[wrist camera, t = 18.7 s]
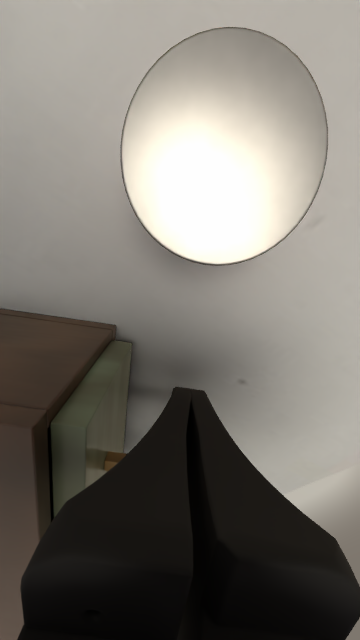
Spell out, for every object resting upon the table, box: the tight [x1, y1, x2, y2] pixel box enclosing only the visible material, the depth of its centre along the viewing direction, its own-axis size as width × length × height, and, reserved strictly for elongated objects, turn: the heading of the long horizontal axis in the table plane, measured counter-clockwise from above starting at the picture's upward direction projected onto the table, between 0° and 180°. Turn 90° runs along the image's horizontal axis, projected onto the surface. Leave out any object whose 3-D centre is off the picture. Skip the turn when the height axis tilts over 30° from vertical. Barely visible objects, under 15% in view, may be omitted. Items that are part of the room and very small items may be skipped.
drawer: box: [47, 340, 132, 522], centre depth 13 cm, size 16×12×7 cm
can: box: [121, 27, 328, 266], centre depth 10 cm, size 5×5×7 cm
